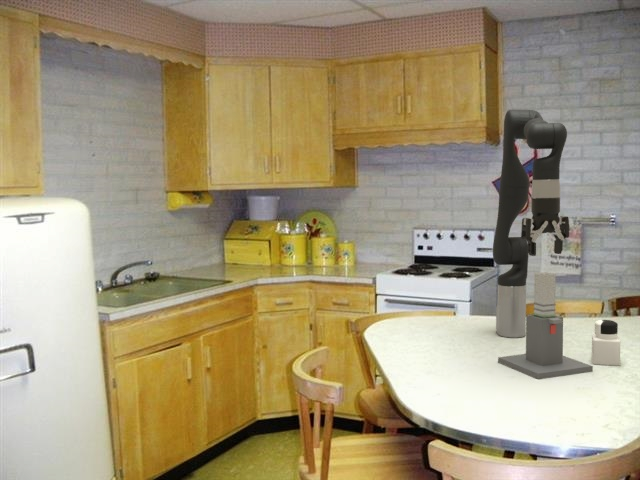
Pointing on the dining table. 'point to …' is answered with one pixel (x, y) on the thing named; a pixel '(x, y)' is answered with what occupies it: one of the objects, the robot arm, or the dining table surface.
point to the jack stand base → (544, 351)
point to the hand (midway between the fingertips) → (545, 254)
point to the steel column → (544, 295)
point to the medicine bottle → (606, 343)
